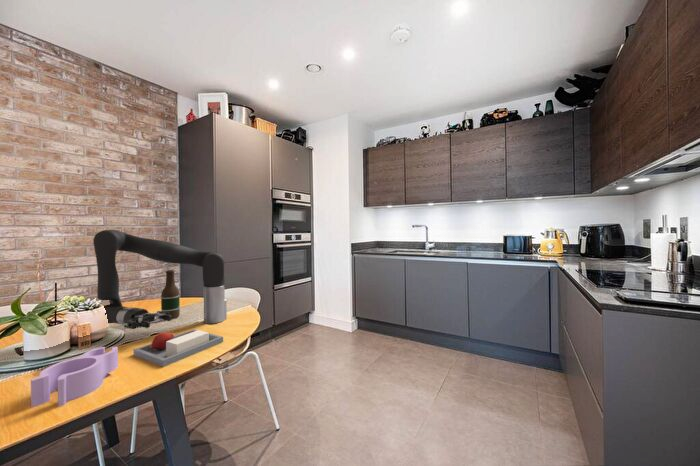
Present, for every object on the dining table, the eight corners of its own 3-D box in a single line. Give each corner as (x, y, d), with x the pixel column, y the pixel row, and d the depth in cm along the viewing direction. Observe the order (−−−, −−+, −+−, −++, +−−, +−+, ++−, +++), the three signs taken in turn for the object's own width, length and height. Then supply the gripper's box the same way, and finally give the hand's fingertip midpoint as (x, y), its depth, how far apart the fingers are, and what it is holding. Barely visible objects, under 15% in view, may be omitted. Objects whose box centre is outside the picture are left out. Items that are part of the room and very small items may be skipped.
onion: (176, 337, 101) (151, 352, 96) (178, 343, 105) (155, 357, 100) (168, 325, 103) (143, 339, 98) (171, 331, 107) (148, 345, 102)
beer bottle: (157, 319, 138) (156, 271, 138) (170, 314, 146) (169, 269, 145) (171, 320, 137) (170, 271, 136) (183, 315, 145) (182, 269, 144)
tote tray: (194, 336, 117) (193, 329, 117) (223, 344, 108) (223, 336, 108) (133, 357, 97) (133, 349, 97) (163, 370, 89) (163, 360, 89)
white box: (198, 343, 107) (198, 330, 107) (208, 345, 105) (208, 332, 105) (166, 355, 97) (166, 341, 97) (177, 359, 94) (176, 344, 94)
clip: (90, 368, 90) (90, 347, 90) (130, 367, 91) (129, 346, 91) (19, 407, 70) (19, 380, 70) (71, 406, 71) (70, 379, 71)
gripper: (112, 312, 109) (141, 317, 103) (150, 303, 122) (176, 307, 116) (113, 332, 109) (141, 337, 103) (150, 320, 122) (177, 325, 117)
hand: (160, 321), depth 110 cm, fingers open, 8 cm apart
